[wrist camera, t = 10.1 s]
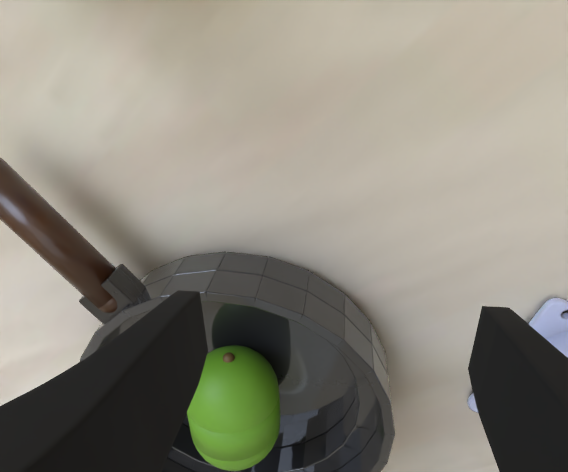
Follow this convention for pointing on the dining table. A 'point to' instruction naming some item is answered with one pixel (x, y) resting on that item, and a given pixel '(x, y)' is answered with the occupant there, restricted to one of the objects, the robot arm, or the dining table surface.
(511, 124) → the dining table surface
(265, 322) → the pan
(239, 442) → the lime
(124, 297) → the pan handle
